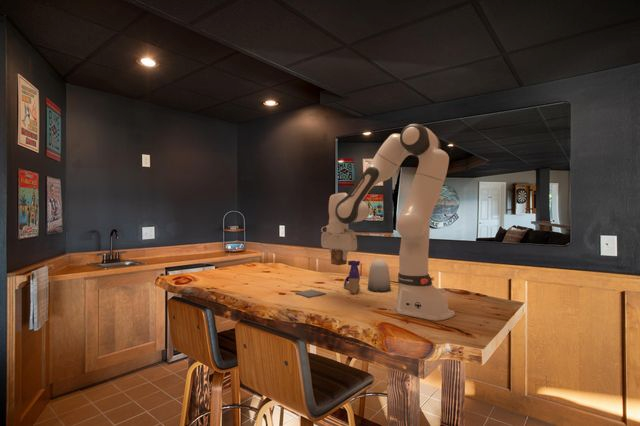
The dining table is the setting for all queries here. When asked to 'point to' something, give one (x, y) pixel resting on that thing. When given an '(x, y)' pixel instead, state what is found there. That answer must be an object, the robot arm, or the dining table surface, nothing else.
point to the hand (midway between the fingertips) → (338, 259)
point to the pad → (310, 293)
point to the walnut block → (337, 257)
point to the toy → (379, 276)
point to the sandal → (353, 277)
